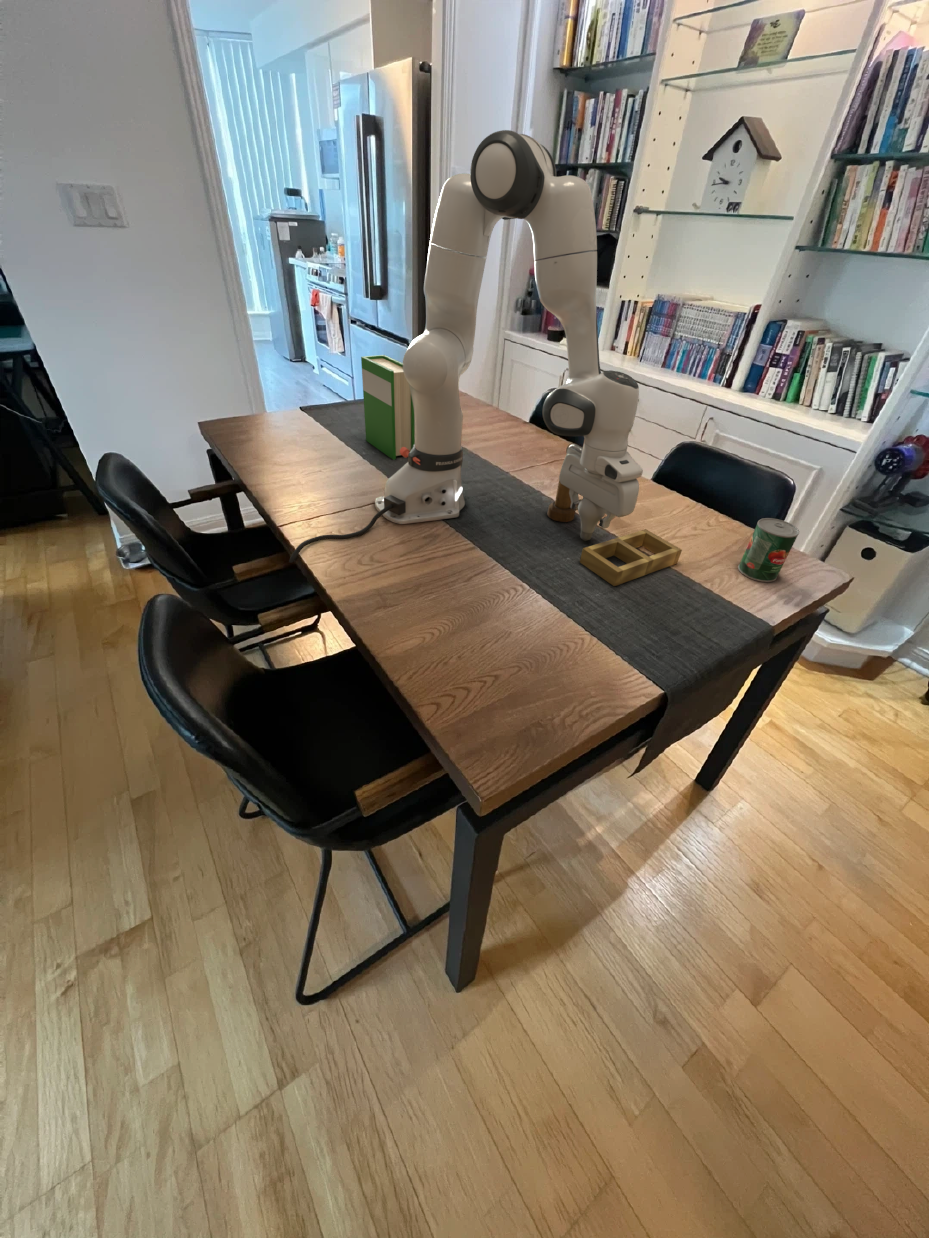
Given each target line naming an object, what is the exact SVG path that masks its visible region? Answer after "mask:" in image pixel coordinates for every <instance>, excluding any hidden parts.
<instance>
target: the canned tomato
mask: <svg viewBox="0 0 929 1238" xmlns="http://www.w3.org/2000/svg"><path fill="white" fill-rule="evenodd" d="M799 534H800V529H799V528H798V527H797V526H796V525H794V524H792V523H790V522H788V521H785V520H782V519H778V518H773V517H765V518H761V519H759V520H758V521H757V523H756V526H755V528H754V530H753V532H752V535H751V537H750V539H749V542H748V543H747V546H746V548H745V550H744V553H743V555H742V557H741V560H740V561H739V563H738V566H737V569H738V571H739V572H740V573H741V574H742V575H743V576H745V577H746V578H748V579H751V580H753V581H756V582H762V583H771V582H775V581H776V580H777V579H778V575H779V574H780V572H781V570H782V568H783V566H784V564H785V562H786V560H787V558H788V556H789V554H790V553H791V550H792V549H793V546H794V545H795V543H796V540H797V538H798V536H799Z"/></svg>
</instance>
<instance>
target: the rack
mask: <svg viewBox="0 0 929 1238" xmlns="http://www.w3.org/2000/svg"><path fill="white" fill-rule="evenodd" d="M641 547H643V548H644V549H646V550H648V551H649V552H651V553H652V554H653V555H652V554H651V555H649V556H648V555H647V554H645V553H643V552H642V551H640V550H639V549H638V548H641ZM682 551H683V549H682V548H680V547H678V546H676V545H674V544H673V543H671V542H670V541H668V540H666V539H664V538H662V537H660V536H659V535H658V534H655V533H654V532H652V531H651V530H648V529H647V528H645V529H642V530H638V531H635V532H632V533H628V534H625V535H622V536H619V537H615V538H612V539H609V540H605V541H602V542H598V543H595V544H593V545H589V546H586V547H583V548H582V550H581V554H580V555H581V556H580V558H579V563H580V564H581V565H583V566H584V567H585V568H587V569H588V570H590V572H593V573H594V574H596V575H597V576H598V577H600V578H601V579H602V580H604V581H606V582H607V583H608V584H610V585H612V586H613V587H616V586H617V587H618V586H619V585H622V584H625V583H627V582H631V581H633V580H636V579H638V578H641V577H644V576H646V575H649V574H652V573H655V572H658V571H660V570H663V569H666V568H668V567H671V566H674V565H676V564H678V562H679V560H680V556H681V553H682ZM611 557H616V558H617V559H619V560H620V561H622V562H624V563H625V564H623V565H620V566H617V565H616V564H614V563H612V562H611V561H610V560H608V558H611Z"/></svg>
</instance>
